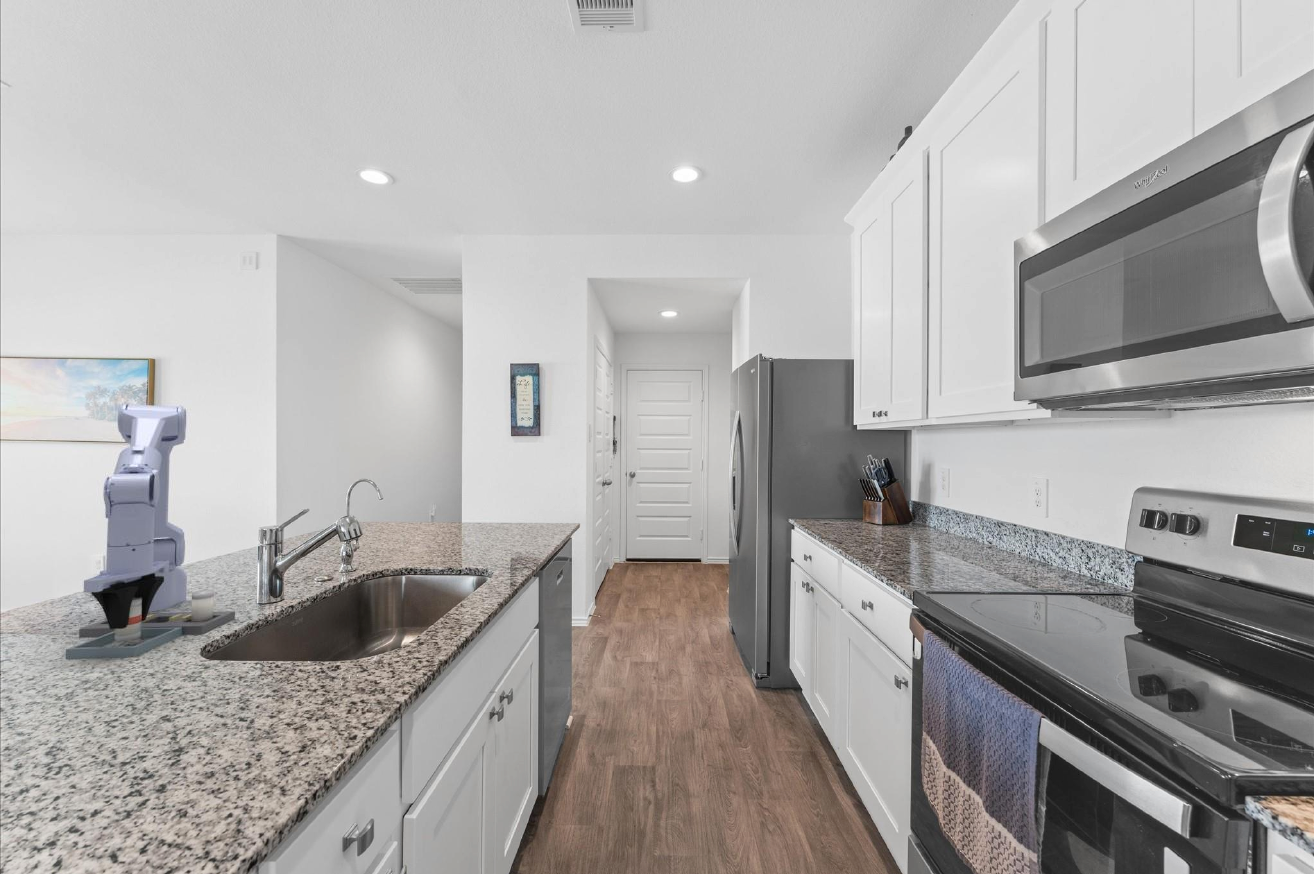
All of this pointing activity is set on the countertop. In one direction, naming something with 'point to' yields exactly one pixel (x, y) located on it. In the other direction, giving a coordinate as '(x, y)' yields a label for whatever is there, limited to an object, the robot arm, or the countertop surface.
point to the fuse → (202, 606)
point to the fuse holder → (165, 623)
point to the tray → (96, 651)
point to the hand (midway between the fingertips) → (128, 624)
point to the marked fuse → (131, 623)
